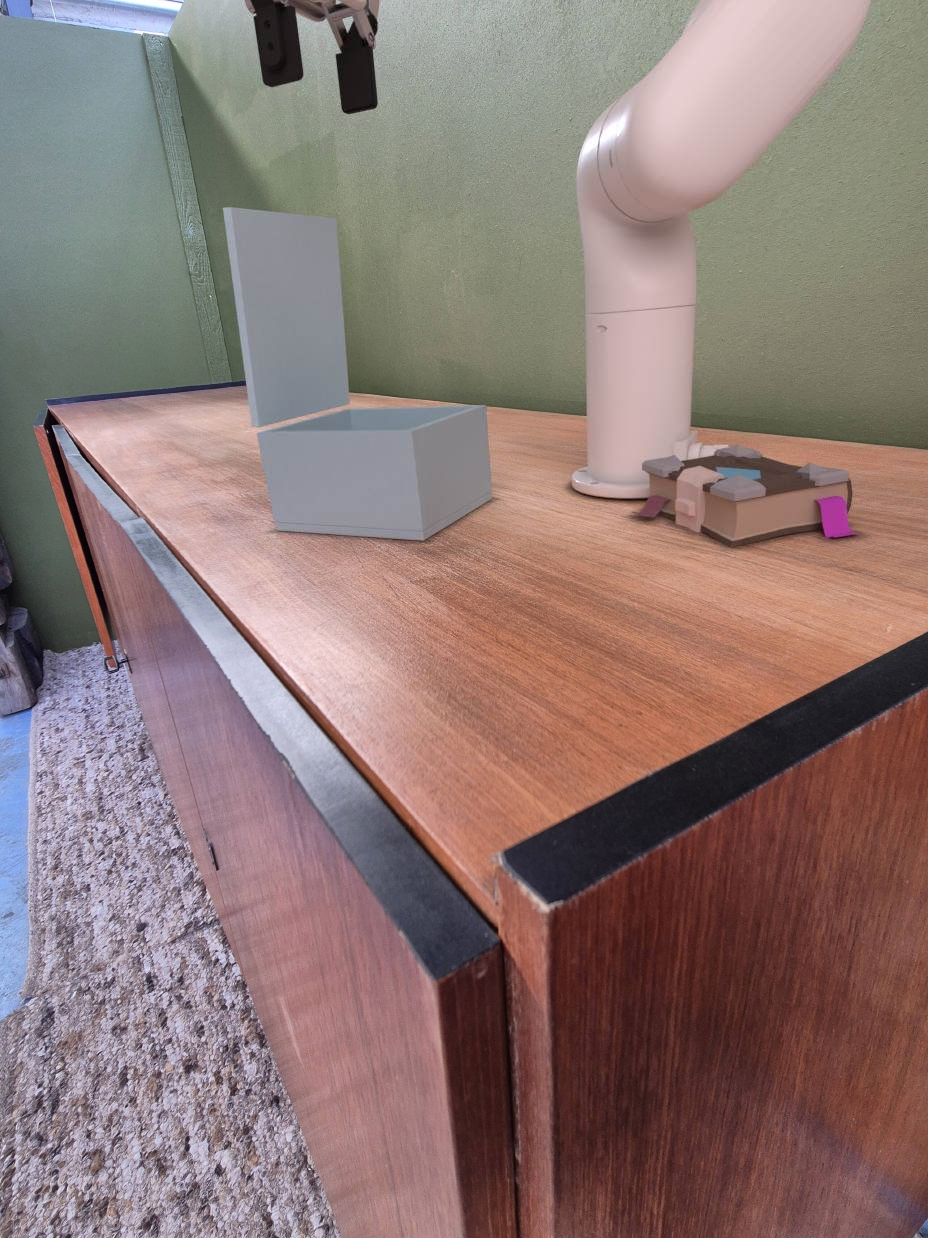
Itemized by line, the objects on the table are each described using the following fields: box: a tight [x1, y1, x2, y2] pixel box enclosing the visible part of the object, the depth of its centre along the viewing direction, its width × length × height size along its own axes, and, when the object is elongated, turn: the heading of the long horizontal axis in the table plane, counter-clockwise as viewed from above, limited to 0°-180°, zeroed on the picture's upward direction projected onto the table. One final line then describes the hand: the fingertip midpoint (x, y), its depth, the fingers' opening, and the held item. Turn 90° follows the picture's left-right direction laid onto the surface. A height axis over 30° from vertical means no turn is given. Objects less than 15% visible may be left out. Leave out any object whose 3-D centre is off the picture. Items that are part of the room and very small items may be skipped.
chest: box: [256, 404, 493, 542], centre depth 65 cm, size 16×14×9 cm
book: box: [631, 444, 860, 549], centre depth 57 cm, size 20×12×5 cm, turn 18°
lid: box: [222, 206, 351, 428], centre depth 64 cm, size 16×14×5 cm
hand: (324, 97), depth 54 cm, fingers open, 9 cm apart
